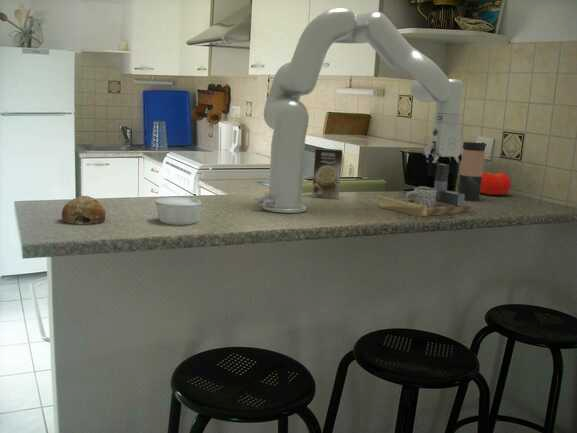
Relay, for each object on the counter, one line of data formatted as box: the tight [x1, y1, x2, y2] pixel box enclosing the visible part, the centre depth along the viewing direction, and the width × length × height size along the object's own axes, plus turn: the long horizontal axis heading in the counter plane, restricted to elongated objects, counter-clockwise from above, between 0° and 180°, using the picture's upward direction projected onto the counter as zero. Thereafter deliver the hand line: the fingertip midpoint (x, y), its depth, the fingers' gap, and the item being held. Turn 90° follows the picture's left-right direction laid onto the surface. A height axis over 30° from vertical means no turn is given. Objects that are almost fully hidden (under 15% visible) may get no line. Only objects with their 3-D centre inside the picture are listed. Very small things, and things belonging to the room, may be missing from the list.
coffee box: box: [311, 147, 343, 200], centre depth 210 cm, size 9×6×16 cm
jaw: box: [420, 163, 465, 206], centre depth 199 cm, size 3×17×12 cm, turn 35°
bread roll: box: [61, 195, 106, 226], centre depth 152 cm, size 10×10×8 cm
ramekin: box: [155, 197, 202, 226], centre depth 157 cm, size 11×11×5 cm
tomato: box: [480, 171, 512, 197], centre depth 240 cm, size 13×12×8 cm
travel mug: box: [457, 141, 486, 202], centre depth 222 cm, size 8×8×20 cm
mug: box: [404, 186, 437, 208], centre depth 194 cm, size 10×7×7 cm, turn 107°
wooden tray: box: [378, 196, 474, 218], centre depth 196 cm, size 24×17×3 cm
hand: (441, 175), depth 198 cm, fingers open, 9 cm apart
